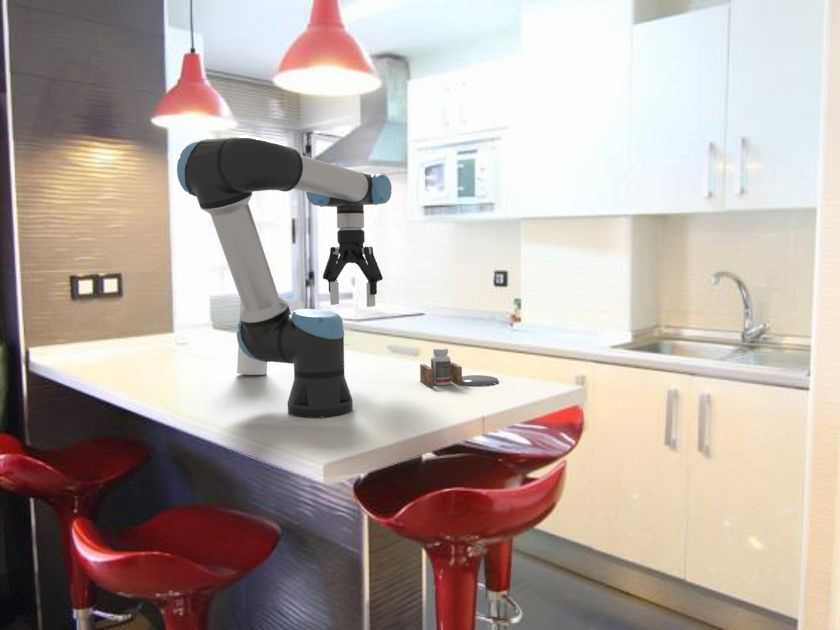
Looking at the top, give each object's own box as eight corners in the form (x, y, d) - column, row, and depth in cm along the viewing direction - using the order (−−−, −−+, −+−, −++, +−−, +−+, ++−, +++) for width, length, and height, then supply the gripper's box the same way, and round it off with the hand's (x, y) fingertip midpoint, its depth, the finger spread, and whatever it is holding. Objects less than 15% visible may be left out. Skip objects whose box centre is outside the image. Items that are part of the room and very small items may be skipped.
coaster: (504, 384, 190) (504, 382, 190) (463, 387, 187) (463, 385, 187) (488, 376, 202) (488, 374, 202) (448, 379, 198) (448, 377, 198)
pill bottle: (454, 382, 193) (454, 347, 192) (443, 386, 189) (443, 350, 188) (438, 380, 196) (437, 346, 195) (427, 384, 192) (426, 349, 191)
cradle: (462, 385, 190) (461, 366, 189) (428, 387, 187) (428, 369, 187) (452, 379, 198) (452, 362, 197) (420, 381, 195) (420, 364, 194)
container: (259, 375, 203) (263, 271, 203) (231, 373, 205) (236, 271, 205) (271, 373, 211) (275, 274, 212) (245, 371, 213) (249, 273, 214)
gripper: (394, 228, 190) (395, 306, 192) (327, 230, 205) (329, 302, 207) (376, 228, 184) (378, 308, 186) (309, 230, 199) (311, 304, 201)
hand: (352, 305), depth 197 cm, fingers open, 13 cm apart
